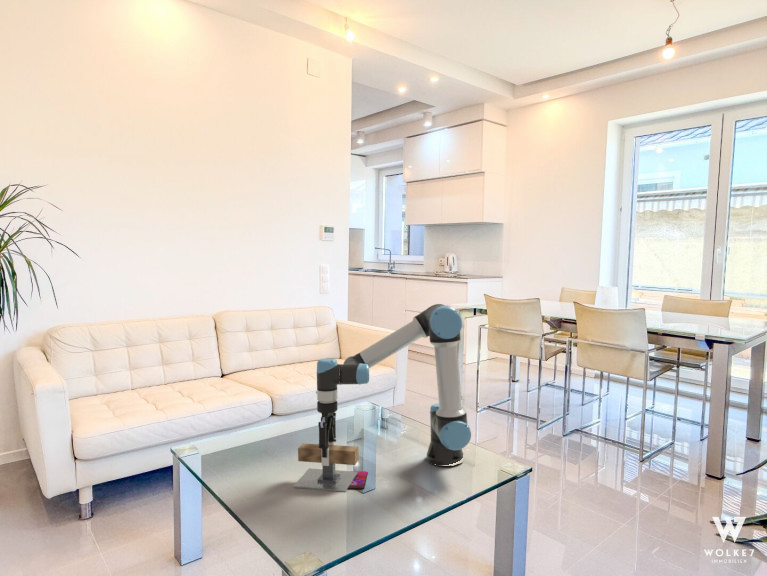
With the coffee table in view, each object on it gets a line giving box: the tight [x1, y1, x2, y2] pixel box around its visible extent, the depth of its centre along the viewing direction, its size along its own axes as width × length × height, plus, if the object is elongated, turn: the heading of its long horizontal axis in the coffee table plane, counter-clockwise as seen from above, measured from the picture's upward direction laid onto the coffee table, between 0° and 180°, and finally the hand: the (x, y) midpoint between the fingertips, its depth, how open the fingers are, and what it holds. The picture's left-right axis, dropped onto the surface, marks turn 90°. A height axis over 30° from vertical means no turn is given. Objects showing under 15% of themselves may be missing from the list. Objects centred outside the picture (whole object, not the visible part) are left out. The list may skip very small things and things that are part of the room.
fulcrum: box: [292, 463, 358, 493], centre depth 180 cm, size 20×16×8 cm
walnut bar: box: [297, 443, 360, 466], centre depth 180 cm, size 22×5×5 cm, turn 78°
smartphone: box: [347, 470, 369, 491], centre depth 180 cm, size 8×1×15 cm
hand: (327, 462), depth 180 cm, fingers closed on walnut bar, 5 cm apart
